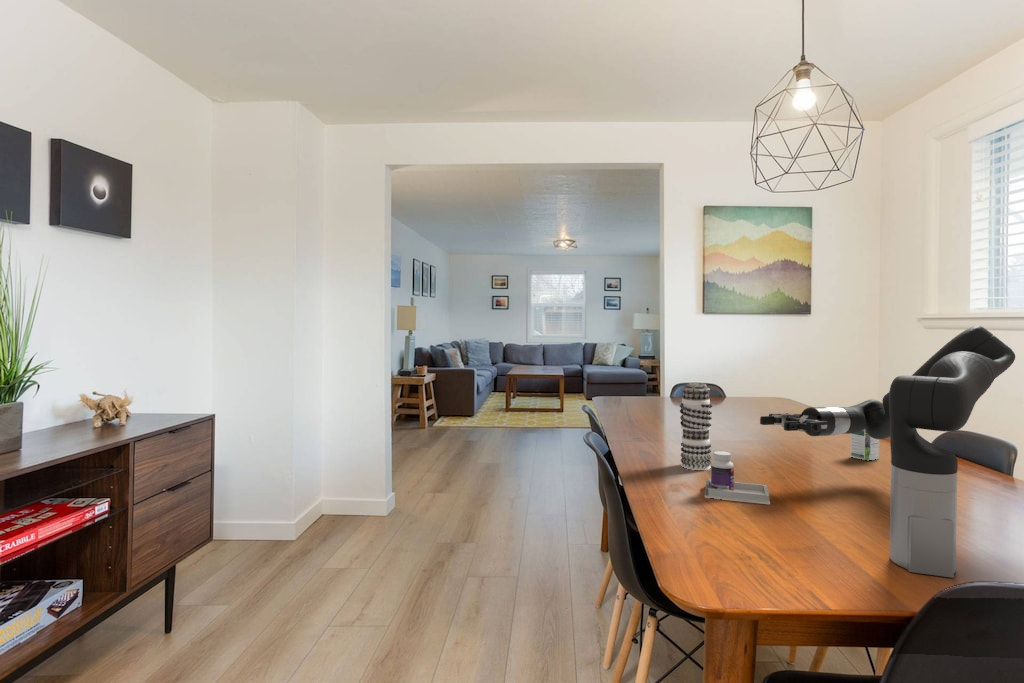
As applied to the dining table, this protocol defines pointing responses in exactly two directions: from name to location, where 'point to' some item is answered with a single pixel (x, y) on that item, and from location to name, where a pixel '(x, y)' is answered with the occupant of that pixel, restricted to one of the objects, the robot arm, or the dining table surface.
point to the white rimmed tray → (740, 493)
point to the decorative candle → (695, 427)
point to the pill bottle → (722, 471)
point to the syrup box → (864, 446)
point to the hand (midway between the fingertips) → (772, 423)
